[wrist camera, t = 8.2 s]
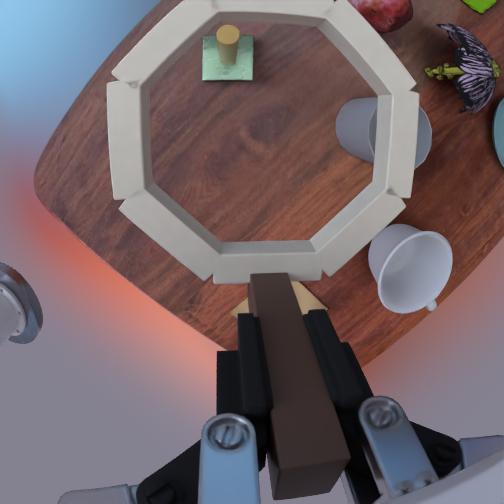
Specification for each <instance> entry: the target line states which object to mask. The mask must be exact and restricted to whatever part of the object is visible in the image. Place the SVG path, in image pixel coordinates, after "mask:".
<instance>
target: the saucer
mask: <svg viewBox="0 0 504 504" xmlns="http://www.w3.org/2000/svg"><path fill="white" fill-rule="evenodd" d="M492 140H493V145H494V149H495V152H496V154H497V157H498V159H499V161H500V162H501V164H502V166H503V167H504V98H503V99H502V100H501V101H500V103H499V104H498V106H497V108H496V110H495V113H494V116H493V121H492Z"/></svg>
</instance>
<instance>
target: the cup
mask: <svg viewBox="0 0 504 504" xmlns="http://www.w3.org/2000/svg"><path fill="white" fill-rule="evenodd" d="M377 109H378V97H370V98H360V99H352V100H350V101H349V102H348V103H346V104H345V105H344V106H342V107H341V109H340V111H339V113H338V115H337V117H336V131H335V133H336V136H337V138H338V140H339V142H340V145H341V146H342V147H343V148H344V149H345V150H346V151H347V152H348V153H349V154H350V155H352V156H355V157H358V158H360V159H363V160H365V161H368V162H370V163H373V164H374V158H375V145H376V130H377ZM431 139H432V129H431V126H430V123H429V120H428V117H427V114H426V113H425V112H424V111H423V109H422V108H421V107H420V106H419V115H418V132H417V145H416V156H415V166H414V169H415V168H417V167H418V166H419V165H420V164H421V163H423V162H424V161H425V159H426V157H427V154H428V152H429V150H430V148H431Z"/></svg>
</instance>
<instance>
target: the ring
mask: <svg viewBox="0 0 504 504" xmlns="http://www.w3.org/2000/svg"><path fill="white" fill-rule="evenodd" d="M219 22H268V23H283V24H295V25H304V26H313V27H317V28H318V29H319V30H320V31H321V32H322V33H323V34H324V35H325V36H326V37H327V38H328V39H329V40H330V41H331V42H332V43H333V44H334V45H335V46H336V47H337V48H338V50H339V51H340V52H341V53H342V54H343V55H344V56H345V57H346V58H347V59H348V61H349V62H350V63H351V64H352V65H353V66H354V67H355V69H356V70H357V71H358V72H359V73H360V75H361V76H362V77H363V78H364V79H365V81H366V82H367V83H368V84H369V85H370V87H371V88H372V89H373V91H374V92H375V93H376V94H377V96H378V109H377V130H376V145H375V158H374V170H373V180H372V182H371V183H370V184H369V185H368V186H367V187H366V188H365V189H364V190H363V191H362V192H361V193H360V194H358V195H357V196H356V197H355V198H354V199H353V200H352V201H351V202H350V203H349V204H348V205H347V206H346V207H345V208H343V209H342V210H341V211H340V212H339V213H338V214H337V215H336V216H335V217H334V218H333V219H332V220H330V221H329V222H328V223H327V224H326V225H325V226H324V227H323V228H322V229H321V230H319V231H318V232H317V233H316V234H315V235H314V236H313V237H312V238H311V239H310V240H295V241H248V242H221V241H220V240H219V239H217V238H216V237H215V236H214V235H213V234H212V233H211V232H209V231H208V230H207V229H206V228H205V227H204V226H202V225H201V224H200V223H199V222H198V221H197V220H196V219H194V218H193V217H192V216H191V215H190V214H189V213H188V212H187V211H185V210H184V209H183V208H182V207H181V206H180V205H179V204H177V203H176V202H175V201H174V200H173V199H172V198H171V197H169V196H168V195H167V194H166V193H165V192H164V191H163V190H162V189H160V188H159V187H158V186H157V185H156V184H155V183H154V182H153V176H152V160H151V140H150V108H149V89H150V88H151V87H152V85H153V84H154V83H155V82H156V81H157V80H158V79H159V78H160V77H161V76H162V75H163V74H164V73H165V72H166V71H167V70H168V69H169V68H170V67H171V66H172V65H173V64H174V63H175V62H176V61H177V60H178V59H179V58H180V57H181V56H182V55H183V54H184V53H185V52H186V51H187V50H188V49H189V48H190V47H191V46H193V45H194V44H195V43H196V42H197V41H198V40H199V39H200V38H201V37H202V36H204V35H205V34H206V33H207V32H208V31H209V30H210V29H212V28H213V27H214V26H215V25H216V24H218V23H219ZM112 75H113V76H115V77H116V78H117V79H118V80H119V81H115V82H109V83H107V119H108V140H109V155H110V167H111V178H112V187H113V196H114V200H124V199H126V200H125V201H124V202H123V204H122V205H121V206H120V208H119V211H121V212H122V213H123V214H124V215H125V216H126V217H128V218H129V219H130V220H131V221H132V222H133V223H134V224H136V225H137V226H138V227H139V228H140V229H141V230H143V231H144V232H145V233H146V234H147V235H149V236H150V237H151V238H152V239H153V240H154V241H156V242H157V243H158V244H159V245H160V246H162V247H163V248H164V249H165V250H166V251H168V252H169V253H170V254H171V255H172V256H174V257H175V258H176V259H177V260H179V261H180V262H181V263H182V264H183V265H185V266H186V267H187V268H188V269H190V270H191V271H192V272H193V273H195V274H196V275H197V276H198V277H200V278H201V279H202V280H203V281H206V280H207V279H208V278H209V277H210V276H211V275H212V274H213V282H214V284H235V283H248V307H249V313H253V315H254V317H260V323H261V329H262V335H263V340H264V346H265V352H266V358H267V364H268V370H269V376H270V382H271V388H272V394H273V409H271V411H270V422H269V432H268V442H267V459H268V466H269V474H270V480H271V489H272V496H273V499H274V500H283V499H292V498H298V497H306V496H312V495H318V494H324V493H329V492H330V491H331V489H332V488H333V486H334V485H335V483H336V482H337V480H338V479H339V477H340V475H341V474H342V472H343V471H344V469H345V467H346V466H347V464H348V462H349V461H350V459H351V456H350V452H349V449H348V446H347V443H346V440H345V437H344V434H343V431H342V428H341V425H340V422H339V419H338V416H337V413H336V410H335V407H334V404H333V402H332V400H331V397H330V394H329V391H328V388H327V385H326V382H325V379H324V376H323V373H322V370H321V367H320V364H319V362H318V359H317V356H316V353H315V350H314V347H313V344H312V341H311V339H310V336H309V333H308V330H307V327H306V324H305V321H304V319H303V314H302V311H301V309H300V306H299V303H298V300H297V297H296V295H295V292H294V289H293V286H292V284H291V281H314V280H321V276H322V270H323V271H324V272H325V273H326V274H327V275H328V276H329V277H330V276H332V275H333V274H334V273H335V272H336V271H337V270H339V269H340V268H341V267H342V266H343V265H344V264H345V263H346V262H348V261H349V260H350V259H351V258H352V257H353V256H354V255H355V254H356V253H358V252H359V251H360V250H361V249H362V248H363V247H364V246H365V245H366V244H367V243H369V242H370V241H371V240H372V239H373V238H374V237H375V236H376V235H377V234H378V233H379V232H380V231H382V230H383V229H384V228H385V227H386V226H387V225H388V224H389V223H390V222H391V221H392V220H393V219H394V218H395V217H396V216H397V215H398V214H399V213H400V212H401V211H403V210H404V209H405V208H406V205H405V203H404V202H403V200H402V199H401V198H410V197H411V190H412V183H413V175H414V166H415V156H416V145H417V132H418V115H419V93H417V92H412V91H410V90H411V89H412V88H413V87H414V86H415V85H416V82H415V81H414V79H413V78H412V77H411V75H410V74H409V72H408V71H407V70H406V68H405V67H404V66H403V64H402V63H401V62H400V60H399V59H398V58H397V56H396V55H395V54H394V53H393V51H392V50H391V49H390V48H389V46H388V45H387V44H386V43H385V41H384V40H383V39H382V38H381V37H380V35H379V34H378V33H377V32H376V31H375V30H374V29H373V27H372V26H371V25H370V24H369V23H368V22H367V21H366V20H365V19H364V17H363V16H362V15H361V14H360V13H359V12H358V11H357V10H356V9H355V8H354V7H353V6H352V5H351V4H350V3H349V2H348V1H347V0H337V1H336V2H334V0H184V1H182V2H181V3H180V4H179V5H178V6H176V7H175V8H174V9H173V10H172V11H171V12H170V13H169V14H167V15H166V16H165V17H164V18H163V19H162V20H161V21H160V22H159V23H158V24H157V25H156V26H155V27H153V28H152V29H151V30H150V31H149V32H148V33H147V34H146V35H145V36H144V37H143V38H142V39H141V40H140V41H139V42H138V43H137V45H136V46H135V47H134V48H133V49H132V50H131V51H130V52H129V53H128V54H127V55H126V56H125V57H124V58H123V60H122V61H121V62H120V63H119V64H118V65H117V66H116V67H115V69H114V70H113V71H112Z"/></svg>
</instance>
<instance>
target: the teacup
mask: <svg viewBox="0 0 504 504" xmlns="http://www.w3.org/2000/svg"><path fill="white" fill-rule="evenodd" d="M452 260H453V259H452V250H451V247H450V244H449V242H448V241H447V240H446V239H445V238H444V237H443V236H442V235H440V234H438V233H436V232H432V231H424V232H423V231H421V230H419V229H417V228H414V227H412V226H409V225H405V224H394V225H390V226H388V227H386V228H384V229H383V230H382V231H380V232H379V233H378V234H377V235H376V236H375V237H374V238H373V239H372V241H371V245H370V249H369V254H368V261H369V266H370V269H371V272H372V274H373V276H374V278H375V280H376V282H377V284H378V293H379V297H380V300H381V302H382V304H383V305H384V306H385V307H386V308H387V309H389V310H391V311H393V312H396V313H410V312H414V311H417V310H419V309H421V308H423V307H426V308H427V309H428V310H429V311H433V310H434V309H435V308H436V306H437V304H436V301H435V300H434V299H435V298H436V297H437V296H438V295H439V293H440V292H441V291H442V290H443V288H444V286H445V285H446V283H447V281H448V278H449V276H450V273H451V268H452Z"/></svg>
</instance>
